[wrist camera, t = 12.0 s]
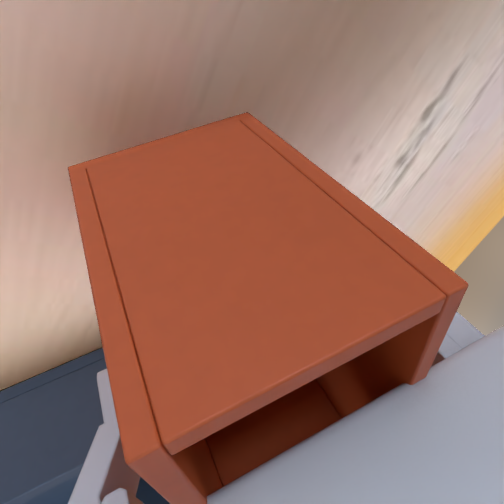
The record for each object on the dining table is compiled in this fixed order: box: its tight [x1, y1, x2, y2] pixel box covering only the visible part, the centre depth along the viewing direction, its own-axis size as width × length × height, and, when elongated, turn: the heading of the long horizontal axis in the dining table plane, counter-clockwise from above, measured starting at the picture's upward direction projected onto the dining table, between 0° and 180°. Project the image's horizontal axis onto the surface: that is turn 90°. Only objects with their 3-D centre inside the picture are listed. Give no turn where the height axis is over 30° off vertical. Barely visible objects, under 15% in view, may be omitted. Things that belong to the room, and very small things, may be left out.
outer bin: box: [0, 347, 170, 504], centre depth 23 cm, size 19×18×6 cm
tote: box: [68, 112, 468, 504], centre depth 12 cm, size 6×10×9 cm, turn 8°
